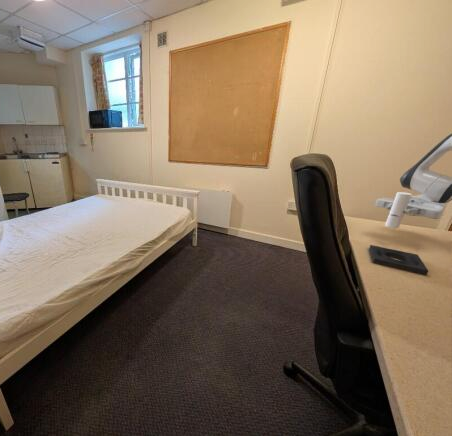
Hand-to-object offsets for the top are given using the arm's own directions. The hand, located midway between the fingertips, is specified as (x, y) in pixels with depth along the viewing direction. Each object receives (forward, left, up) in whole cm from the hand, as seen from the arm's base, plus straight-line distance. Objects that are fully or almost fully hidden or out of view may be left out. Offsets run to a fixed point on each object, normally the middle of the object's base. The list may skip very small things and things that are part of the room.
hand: (397, 209), depth 93 cm
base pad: (-1, +16, -17) cm, 23 cm away
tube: (0, -1, -8) cm, 8 cm away
